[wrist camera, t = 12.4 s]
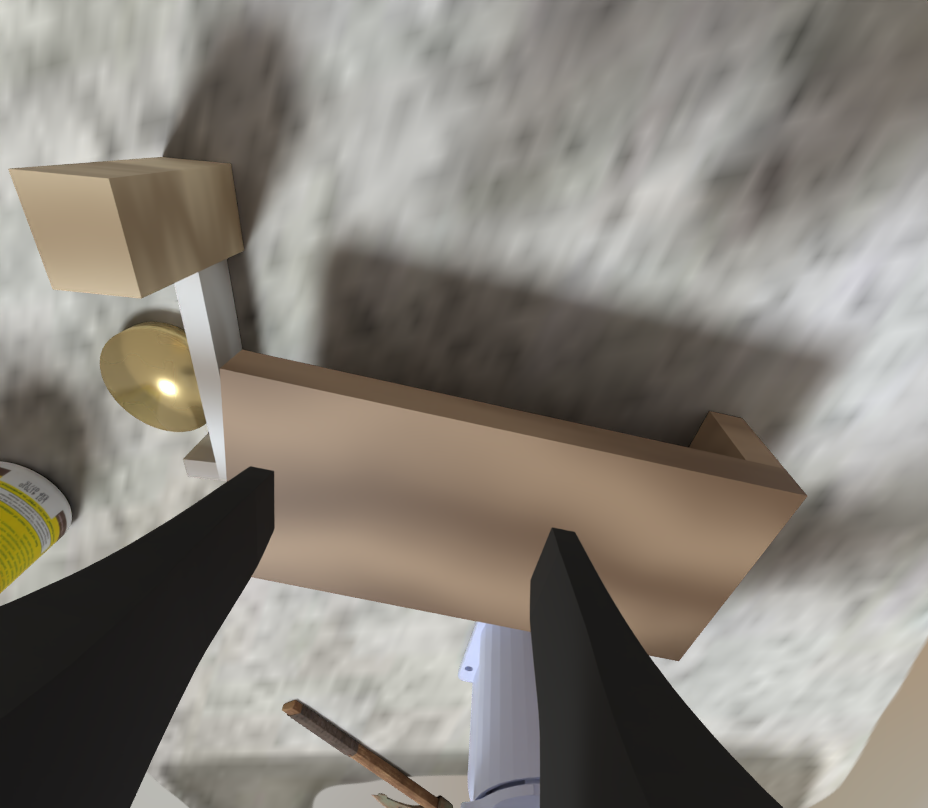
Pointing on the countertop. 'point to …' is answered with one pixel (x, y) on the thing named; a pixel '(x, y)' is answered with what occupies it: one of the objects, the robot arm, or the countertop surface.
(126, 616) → the robot arm
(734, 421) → the low wooden bench
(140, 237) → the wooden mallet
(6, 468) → the supplement bottle
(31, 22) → the countertop surface
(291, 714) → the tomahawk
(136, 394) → the brass disc
